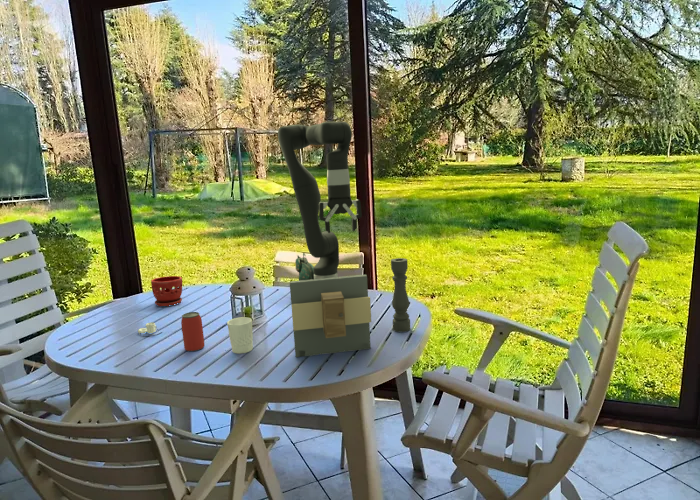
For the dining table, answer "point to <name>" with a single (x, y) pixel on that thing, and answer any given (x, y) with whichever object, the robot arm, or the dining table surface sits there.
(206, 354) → the dining table surface
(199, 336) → the beer can
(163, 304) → the plant pot
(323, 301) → the cabinet
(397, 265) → the candle holder
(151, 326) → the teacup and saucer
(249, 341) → the white cup
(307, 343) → the wall board
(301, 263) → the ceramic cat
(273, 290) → the dining table surface
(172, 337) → the dining table surface
